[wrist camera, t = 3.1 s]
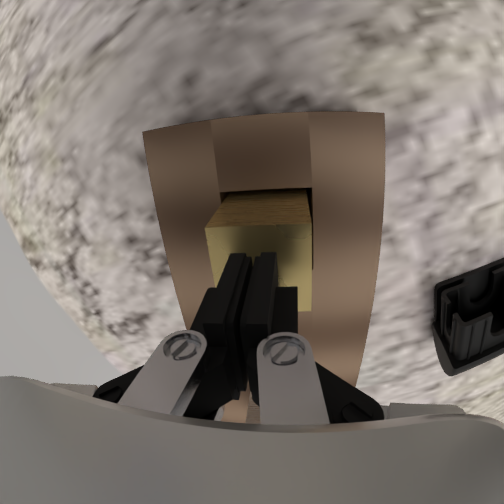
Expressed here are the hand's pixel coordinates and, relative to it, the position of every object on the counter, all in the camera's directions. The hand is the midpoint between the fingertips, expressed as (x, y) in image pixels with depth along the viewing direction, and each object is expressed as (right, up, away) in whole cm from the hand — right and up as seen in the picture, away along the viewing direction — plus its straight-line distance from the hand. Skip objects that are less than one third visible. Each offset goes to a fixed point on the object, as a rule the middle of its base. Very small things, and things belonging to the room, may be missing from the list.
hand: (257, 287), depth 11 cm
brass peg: (+1, +3, +6) cm, 7 cm away
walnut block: (+2, -1, +13) cm, 13 cm away
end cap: (+21, -3, +11) cm, 24 cm away
